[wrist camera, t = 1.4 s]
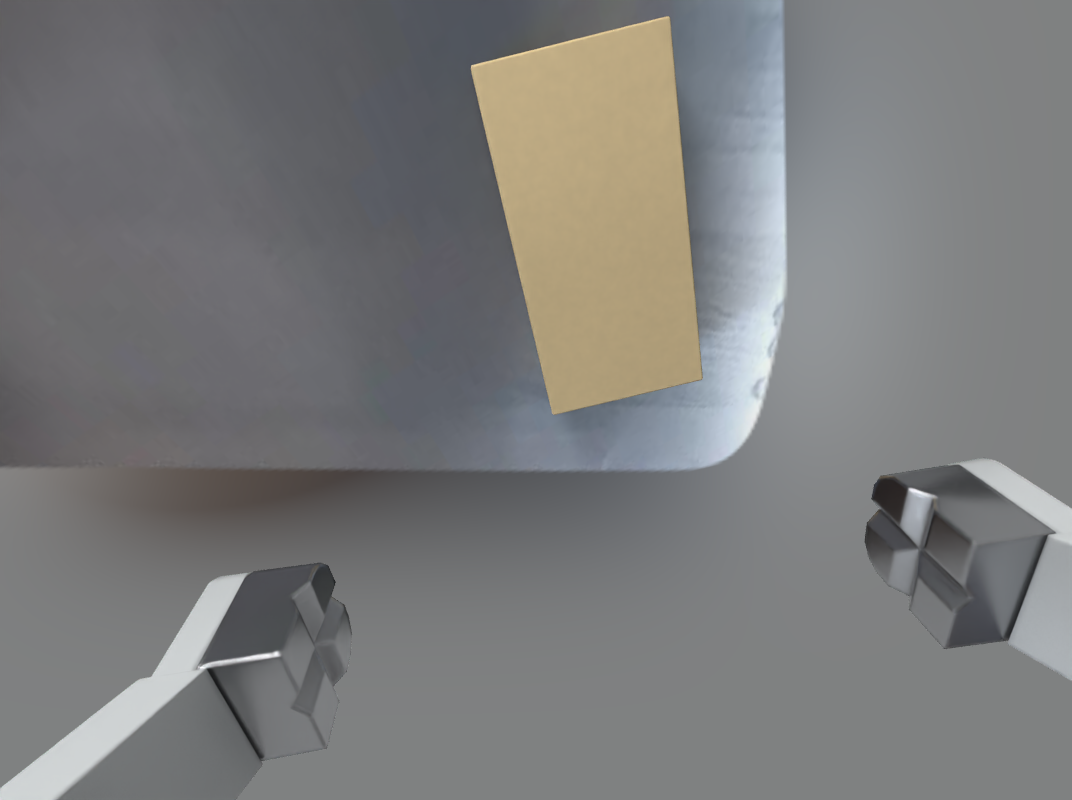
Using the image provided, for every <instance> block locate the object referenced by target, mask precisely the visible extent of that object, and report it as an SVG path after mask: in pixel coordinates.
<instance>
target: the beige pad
mask: <svg viewBox="0 0 1072 800" xmlns="http://www.w3.org/2000/svg"><path fill="white" fill-rule="evenodd" d="M471 72H472V77H473V81H474V86H475V90H476V94H477V98H478V102H479V107H480V111H481V115H482V119H483V124H484V128H485V132H486V136H487V140H488V145H489V149H490V153H491V157H492V162H493V166H494V170H495V174H496V178H497V183H498V187H499V191H500V195H501V200H502V204H503V208H504V212H505V216H506V221H507V225H508V229H509V233H510V238H511V242H512V246H513V250H514V254H515V259H516V263H517V267H518V271H519V276H520V280H521V284H522V288H523V292H524V297H525V301H526V305H527V309H528V314H529V318H530V322H531V326H532V330H533V335H534V339H535V343H536V347H537V352H538V356H539V360H540V364H541V368H542V373H543V377H544V381H545V385H546V389H547V393H548V397H549V401H550V405H551V410H552V413H553V415H556V414H560V413H564V412H568V411H572V410H577V409H581V408H585V407H589V406H593V405H598V404H602V403H606V402H610V401H614V400H619V399H623V398H627V397H631V396H635V395H640V394H644V393H648V392H652V391H656V390H661V389H665V388H669V387H673V386H677V385H682V384H686V383H690V382H694V381H698V380H702V378H703V377H702V366H701V354H700V343H699V332H698V321H697V310H696V299H695V288H694V277H693V266H692V255H691V244H690V233H689V222H688V211H687V200H686V189H685V178H684V166H683V155H682V144H681V133H680V122H679V111H678V100H677V89H676V78H675V67H674V56H673V45H672V34H671V23H670V17H668V16H666V17H662V18H658V19H654V20H650V21H646V22H642V23H639V24H635V25H631V26H627V27H623V28H619V29H615V30H611V31H607V32H603V33H599V34H595V35H591V36H587V37H583V38H579V39H575V40H571V41H567V42H563V43H559V44H555V45H551V46H547V47H543V48H539V49H535V50H531V51H527V52H523V53H519V54H515V55H511V56H507V57H503V58H499V59H495V60H491V61H487V62H483V63H479V64H475V65H472V66H471Z"/></svg>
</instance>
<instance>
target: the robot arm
mask: <svg viewBox="0 0 1072 800" xmlns="http://www.w3.org/2000/svg"><path fill="white" fill-rule="evenodd" d="M871 499H872V500H873V502H874V503H875V504H876V505H877V507H878V508H879V510H878V511H877V512H876V513H875V515H874V516H873V517H872V518H871V519H870V520H869V521H868V522H867V526H866V534H865V544H866V548H867V551H868V556H869V559H870V561H871V563H872V565H873V567H874V568H875V570H876V572H877V573H878V575H879V576H880V577H881V578H882V579H883V580H884V582H885V583H886V584H887V585H888V586H890V587H892V588H894V589H896V590H898V591H900V592H902V593H904V594H906V595H908V596H909V610H910V611H911V612H912V614H913V615H914V616H915V617H916V618H917V619H918V620H919V621H920V622H921V624H922V625H923V626H924V627H925V628H926V629H927V630H928V631H929V632H930V634H931V635H932V636H933V637H934V638H935V639H936V640H937V642H938V643H939V644H940V645H941V646H942V647H943V648H944V649H947V648H955V647H963V646H970V645H978V644H985V643H993V642H1001V641H1008V640H1009V641H1008V644H1009V645H1010V646H1012V647H1014V648H1016V649H1017V650H1019V651H1021V652H1022V653H1024V654H1026V655H1028V656H1029V657H1031V658H1033V659H1035V660H1036V661H1038V662H1040V663H1042V664H1043V665H1045V666H1047V667H1048V668H1050V669H1052V670H1054V671H1055V672H1057V673H1059V674H1060V675H1062V676H1064V677H1066V678H1067V679H1069V680H1071V681H1072V509H1071V508H1070V507H1068V506H1067V505H1065V504H1063V503H1062V502H1060V501H1059V500H1057V499H1055V498H1054V497H1053V496H1051V495H1050V494H1048V493H1046V492H1045V491H1043V490H1042V489H1040V488H1039V487H1037V486H1035V485H1034V484H1032V483H1031V482H1029V481H1028V480H1026V479H1025V478H1023V477H1022V476H1020V475H1018V474H1017V473H1015V472H1014V471H1012V470H1011V469H1009V468H1008V467H1006V466H1004V465H1003V464H1001V463H1000V462H998V461H994V460H990V459H986V458H980V459H975V460H969V461H964V462H958V463H952V464H949V465H947V466H939V467H933V468H927V469H920V470H915V471H908V472H902V473H895V474H889V475H883V476H880V478H879V479H878V480H877V482H876V483H875V484H874V489H873V494H872V498H871ZM334 586H335V580H334V578H333V575H332V573H331V571H330V569H329V566H328V565H326V564H323V563H314V564H307V565H298V566H291V567H283V568H276V569H268V570H261V571H254V572H252V573H242V574H235V575H228V576H221V577H218V578H216V579H214V580H213V581H211V582H210V583H209V584H208V585H207V587H206V588H205V590H204V592H203V593H202V595H201V596H200V598H199V600H198V601H197V603H196V605H195V606H194V608H193V610H192V611H191V613H190V614H189V616H188V618H187V620H186V621H185V623H184V624H183V626H182V627H181V629H180V631H179V632H178V634H177V636H176V637H175V639H174V641H173V642H172V644H171V645H170V647H169V649H168V651H167V652H166V654H165V655H164V657H163V658H162V660H161V662H160V663H159V665H158V667H157V668H156V670H155V671H154V673H153V675H152V676H151V677H150V678H143V679H139V680H137V681H136V682H135V683H133V684H132V685H131V686H130V687H128V688H127V689H126V690H124V691H123V692H122V693H121V694H119V695H118V696H117V697H116V698H114V699H113V700H112V701H110V702H109V703H108V704H107V705H105V706H104V707H103V708H102V709H100V710H99V711H98V712H96V713H95V714H94V715H93V716H92V717H90V718H89V719H88V720H86V721H85V722H84V723H83V724H81V725H80V726H79V727H78V728H76V729H75V730H74V731H72V732H71V733H70V734H69V735H67V736H66V737H65V738H63V739H62V740H61V741H60V742H58V743H57V744H56V745H55V746H53V747H52V748H51V749H50V750H48V751H47V752H46V753H44V754H43V755H42V756H41V757H39V758H38V759H37V760H35V761H34V762H33V763H32V764H30V765H29V766H28V767H27V768H25V769H24V770H23V771H21V772H20V773H19V774H18V775H16V776H15V777H14V778H13V779H12V780H10V781H9V782H7V783H6V784H5V785H4V786H2V787H1V788H0V800H236V799H237V797H238V796H239V795H240V793H241V792H242V791H243V790H244V788H245V787H246V786H247V784H248V783H249V782H250V781H251V779H252V778H253V777H254V775H255V774H256V773H257V771H258V770H259V769H260V768H261V766H262V762H261V761H265V760H269V759H275V758H280V757H285V756H291V755H296V754H301V753H306V752H311V751H317V750H322V749H327V746H328V742H329V739H330V735H331V731H332V727H333V723H334V719H335V716H336V712H337V708H338V704H339V699H338V697H337V694H336V692H335V690H334V688H333V686H334V685H335V684H336V683H337V682H338V681H339V680H340V679H341V677H342V676H343V675H344V674H345V673H346V672H347V668H348V664H349V660H350V655H351V635H352V632H351V626H350V621H349V616H348V613H347V611H346V608H345V605H344V604H342V603H341V602H339V601H338V600H336V599H335V598H333V597H332V596H331V595H332V592H333V589H334Z"/></svg>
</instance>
